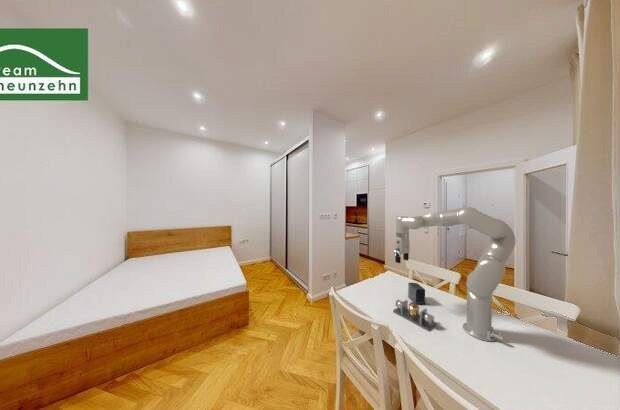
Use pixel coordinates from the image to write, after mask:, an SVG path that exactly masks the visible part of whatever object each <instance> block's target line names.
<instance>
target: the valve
mask: <svg viewBox="0 0 620 410" xmlns="http://www.w3.org/2000/svg"><path fill="white" fill-rule="evenodd" d="M408 309H409V316H410V317H411V318H414V319H418V318H419V315H420V305H418V304H416V303H414V302H413V301H411V302H410V303H408Z"/></svg>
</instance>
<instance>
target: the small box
mask: <svg viewBox="0 0 620 410" xmlns="http://www.w3.org/2000/svg"><path fill="white" fill-rule="evenodd" d="M407 285H408V286H407V287H408V289H407V291H408V293H407V297H408V299H409V300H410V301H411V302H414V303H416V304H418V306H425V305H426V289H425V288H424V287H423V286H421V285H420V284H419V283H417V282H408V283H407Z"/></svg>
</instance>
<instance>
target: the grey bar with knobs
mask: <svg viewBox="0 0 620 410" xmlns="http://www.w3.org/2000/svg"><path fill="white" fill-rule="evenodd" d="M408 302H409V301H408V299H406V300H400V299H397V300H395V307H396V308H394V309H393V310H392V313H393V314H395V315H397V316H400V317H402V318H403V319H405V320H407V321H409V322H411V323H413V324H415V325H416V326H418V327H420V328H421V329H424V330H426V331H427V332H429V331H430V330H431V329H433V328H434V327H435V326H437V322H436V321H435V316H434V315H432V314H430V313H428V309H427V308H423V310H421V311H419V318H418V319H414V318H411V317H410V316H409V303H408Z"/></svg>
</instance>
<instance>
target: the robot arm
mask: <svg viewBox="0 0 620 410" xmlns="http://www.w3.org/2000/svg"><path fill="white" fill-rule="evenodd" d="M458 225H465V226H468V227H469V228H471V229H472V230H475V231H477V232H479V233H481V234H483V235H485V236H488V237H490V239H489V242H488V244H487V246H486V248H485V249H484V251H483V252H482V254H481V256H480V257H479V258H478V259H477V263H476V265H475V267H474V269H473V271H471V272H470V273H469V274H468V275H467V279H466V291H467V292H466V322H465V323H463V324H462V329H463V331H464V332H466V333H467V334H468V335H470V336H472V337H473V338H475V339H478V340H481V341H486V342H494V341H496V339H498V340H499V341H501V342H504V336H503V335H502V333H500V332H497V331H495V330H494V327H493V326H492V323H493V322H492V319H493V318H492V316H493V315H492V314H493V313H492V312H493V311H492V310H493V293H494V292H495V290H496V289H497V287H498V286H499V284H500V283H501V282H502V280H503V278H504V277H505V274H506V263H507V261H508V260H509V258H510V256H511V254H512V253H513V251H514V249H515V246H516V240H517V239H516V236H515V233H514V231H513V229H512V228H511V227H510V226H509V224H507V223H506V222H505V221H504V220H503V219H500V218H495V217H493V216H491V215H488V214H486V213H483V212H481V211H479V210H477V208H474V207H471V206H467V207H466V206H465V207H462V208H461V207H460V208H455V209H449V210H444V211H443V210H442V211H437V212H434V213H429V214H423V215H417V216H411V217H408V216H405V215H399V216H397V217H396V222H395V226H396V229H395V238H396V239H395V248H394V250H393V253H394V257H395V260H394V261H395V263H397V264H401V255H403V256H402V257H403V258H402V259H403V260H404V261H407V262H408V261H409V259H410V258H409V254H410V252H411V244H410V229H411V230H418V229H421V228H427V227H436V226H438V227H448V226H450V227H451V226H458Z"/></svg>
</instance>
